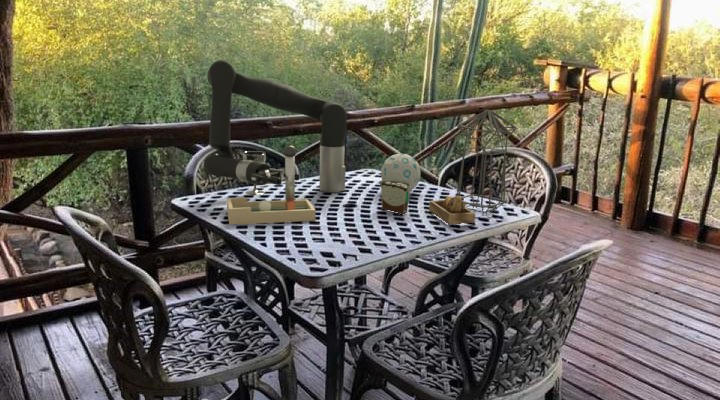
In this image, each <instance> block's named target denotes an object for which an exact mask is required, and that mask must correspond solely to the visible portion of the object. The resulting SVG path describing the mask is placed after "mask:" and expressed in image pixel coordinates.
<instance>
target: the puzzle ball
mask: <svg viewBox="0 0 720 400" xmlns="http://www.w3.org/2000/svg"><path fill="white" fill-rule="evenodd" d="M421 175H422V174H421V168H420V164H419V163H418V162H417V160H416V158H414V157H413V156H411V155H410V154H407V153H396V154H393V155H390V156H389V157H388V158H387V159H386V160H384V161H383V164H382V166H381V169H380V176H381V180H402V181H406V182H409V183H410V184H411V187H412V190H414V189H415V188H416V187H417V186H418V184H419V182H420V179H421Z"/></svg>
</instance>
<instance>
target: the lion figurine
mask: <svg viewBox="0 0 720 400" xmlns="http://www.w3.org/2000/svg"><path fill="white" fill-rule="evenodd" d="M462 197H463V196H461V195H460V196H459V195H458V196H446V197H445V199H443V200H444V209H445V210H446V209H447V211H448V212H449V213H451V214H456V213H458V212H459V211H460V210H461V208H463V209H464V208H465V207H466V206H468V204H466V203H465V202H466V201H464V200H463V198H462Z"/></svg>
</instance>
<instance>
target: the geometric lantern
mask: <svg viewBox="0 0 720 400" xmlns="http://www.w3.org/2000/svg"><path fill="white" fill-rule="evenodd" d="M487 116H488V120H489V121H488V122H489V124H488V123H485V122H484V121H485V120H486V118H487ZM499 119H500V120H502V122H504V123H506V124H508V125H509V126H505V125H503V124H502V122H501V121H500V120H499ZM470 121H471V122H470ZM468 122H470V123H469V124H468V125H466V123H468ZM482 126H483V127H484V128H485V129H481V127H482ZM456 127H457V128H458V129H459V130H460V131H461V132H463V134H465V140H464V148H463V150H462V151H463V153H462V158H461V159H462V160H461V166H460V172H459V178H458V182H457V183H458V184H457V189H456V196H461V194H462V193H461V191H462V182H463V173H464V165H465V157H466V152H469V153H473V154H476V158H475V164H474V169H473V179H472V185H471V192H470V194H468V195H465V196H461V197H462V199H466V198H468V197H471V199H472V203H471V202H469V201H468V202H467V201H464V202H465V203H466V204H467V205H466V206H465V207H466V208H467V209H469V210H471V211H472V212H474V211H475V212H478V213H482V216H487V217H488V213H490V212H489V211H491V212H493V211H494V212H495V213H496V210H497V209H498V208H500V207H501V206H503V205H505V202H506V160H507V159H506V158H507V157H506V156H507V150H508V139H509V137H510V136H511V135H512V134H513V133H514V132H515V131H516V130H518V129H519V127H517V126H516V125H514V124H513V123H511V122H509V121H508V120H506V119H505V118H503V117H502V116H501V115H499V114H498V113H496V112H495V111H493V110H489V109H485V110H483V112H480V113H479V114H476V115H475V116H472V117H471V118H469V119H467V120H465V121H462V122H461V123H458V124H457V125H456ZM464 129H466V130H464ZM494 129H495V130H494ZM468 131H469V132H468ZM474 132H476V137H474V136H473V135H474ZM483 132H484V133H483ZM479 133H483V134H482V135H478V134H479ZM490 133H491V137H490V138H489V139H488V141H487V142H486V143H485V144H484V145H483V143H482V141H481V139H482V138H483V137H485V136H486V135H488V134H490ZM500 133H501V134H500ZM506 134H507V135H506ZM505 135H506V137H504V136H505ZM494 136H496V137H498V139H499V140H497V141H496V143H495V145H494V146H493V147H492V148H491V147H487V146H488V144H489V143H490V141H491V140H492V139H493V138H494ZM470 140H473V141H474V142H475V145H476V146H475V147H468V148H467V145H468V144H469V142H470ZM476 140H478V142H479V144H480V146H479V145H478V143H477V141H476ZM503 141H505V147H504V146H503ZM499 142H500V145H501V149H500V148H499V149H498V148H495V147H496V146H497V145H498V143H499ZM504 148H505V149H504ZM474 149H476V151H474ZM480 149H482V152H480ZM486 149H487V150H490V152H489V153H487V151H486ZM472 150H473V151H472ZM493 150H494V151H499V152H497V153H492V152H493ZM479 154H480V155H481V163H480V175H479V185H478V194H474V187H475V179H476V173H477V172H476V171H477V165H478V160H479ZM501 154H502V155H503V161H502V174H501V189H500V198H497V197H492V196H491V195H492V193H491V192H492V170H493V156H495V155H501ZM487 156H490V160H489V161H490V162H489V163H490V164H489V184H488V185H489V188H488V189H489V190H488V192H489V193H488V196H486V195H484V191H485V189H484V188H485V179H486V177H485V176H486V168H487V167H486V164H487ZM474 197H477V200H476V203H475V200H474ZM484 198H485V199H488V205H485V204H483V202H484V201H483V200H484ZM479 199H480V203H479ZM491 200H496V201H499V202H498V203H494V204H491ZM471 206H472V208H469V207H471ZM473 208H477V209H478V208H480V209H482V211H481V210H477V209H473ZM485 208H487V209H486V211H483V210H484V209H485ZM490 208H491V209H490ZM484 214H485V215H484ZM482 216H481V217H482Z"/></svg>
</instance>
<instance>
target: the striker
mask: <svg viewBox="0 0 720 400" xmlns="http://www.w3.org/2000/svg"><path fill="white" fill-rule="evenodd" d="M283 155H284V160H285V161H284V169H285V179H284V184H285V185H284V188H285V189H284V191H285V192H284V193H285V194H284V195H285V198H284V200H285V208H286V210H295V201H294V200H296V195H295V193H296V180H295V173H296V167H295V166H296V155H297V148H296V146H293V145H290V144H289V145H286V146H284V148H283Z"/></svg>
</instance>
